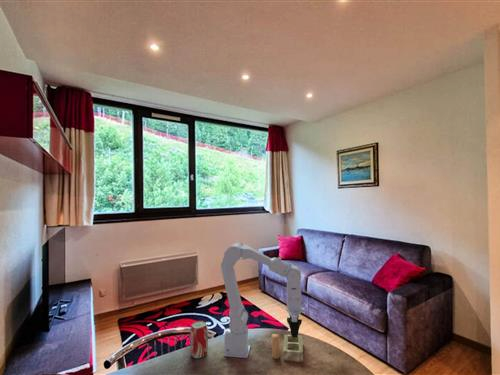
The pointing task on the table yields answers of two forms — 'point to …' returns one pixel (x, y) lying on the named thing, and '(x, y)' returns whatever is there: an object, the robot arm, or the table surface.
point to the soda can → (198, 339)
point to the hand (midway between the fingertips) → (294, 331)
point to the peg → (275, 346)
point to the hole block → (293, 348)
